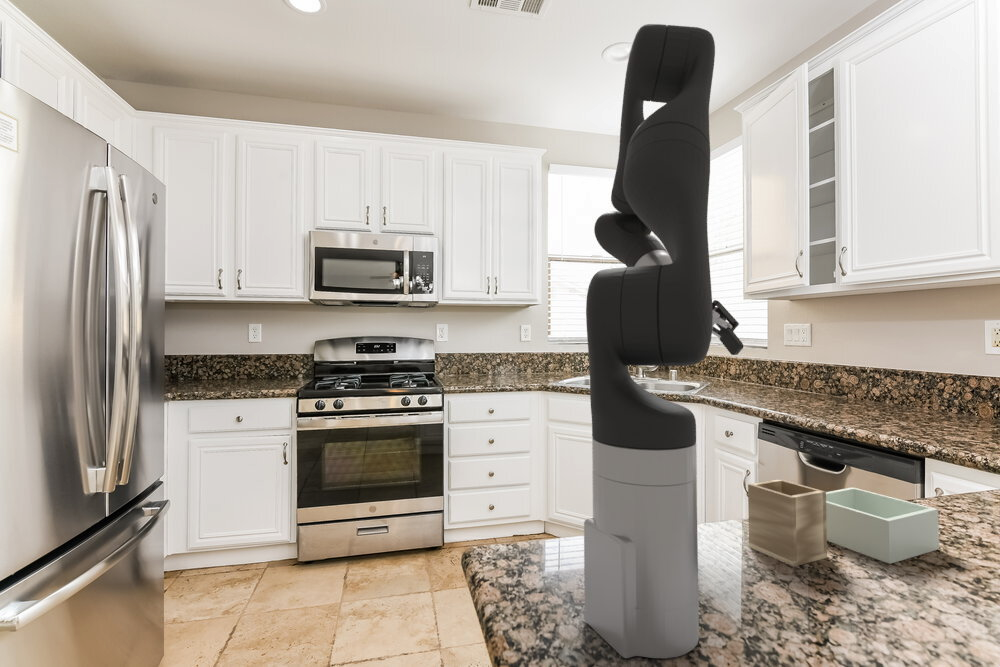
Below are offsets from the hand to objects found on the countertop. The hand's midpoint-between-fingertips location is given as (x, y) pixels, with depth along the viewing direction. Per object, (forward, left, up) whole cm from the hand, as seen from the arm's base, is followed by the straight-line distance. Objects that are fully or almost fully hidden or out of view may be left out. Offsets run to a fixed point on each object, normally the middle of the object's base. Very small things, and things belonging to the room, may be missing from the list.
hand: (716, 351), depth 71 cm
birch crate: (0, -11, -25) cm, 27 cm away
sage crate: (+13, -13, -25) cm, 31 cm away
